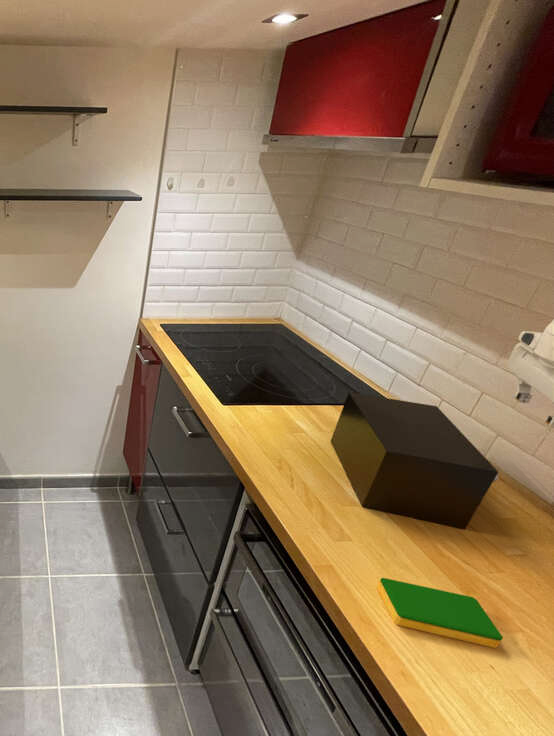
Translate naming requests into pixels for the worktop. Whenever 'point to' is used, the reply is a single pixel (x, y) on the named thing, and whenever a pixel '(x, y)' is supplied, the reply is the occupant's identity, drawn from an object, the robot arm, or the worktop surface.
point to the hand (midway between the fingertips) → (536, 413)
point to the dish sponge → (438, 612)
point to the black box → (410, 460)
